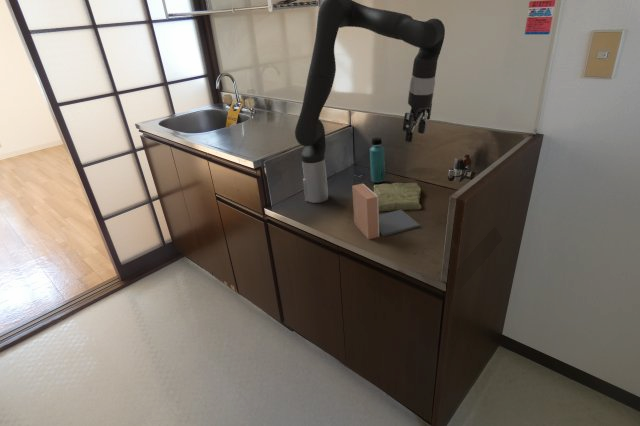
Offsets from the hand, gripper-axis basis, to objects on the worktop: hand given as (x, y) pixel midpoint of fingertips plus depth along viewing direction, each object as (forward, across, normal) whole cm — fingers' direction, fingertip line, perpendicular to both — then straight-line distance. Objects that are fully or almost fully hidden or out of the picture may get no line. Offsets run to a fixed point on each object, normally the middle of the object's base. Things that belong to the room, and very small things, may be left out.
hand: (414, 137), depth 131 cm
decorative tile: (+30, -4, -5) cm, 31 cm away
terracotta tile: (+27, +23, -2) cm, 36 cm away
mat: (+27, +14, +3) cm, 31 cm away
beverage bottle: (+33, -13, -21) cm, 41 cm away
